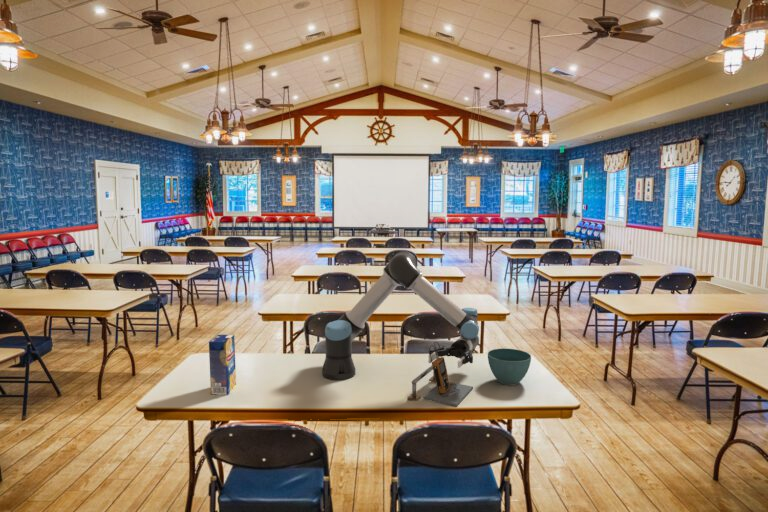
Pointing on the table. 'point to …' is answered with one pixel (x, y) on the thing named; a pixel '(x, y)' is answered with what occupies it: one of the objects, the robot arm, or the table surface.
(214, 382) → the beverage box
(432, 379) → the bent rod hurdle
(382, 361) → the table surface
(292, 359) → the table surface
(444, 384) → the multimeter
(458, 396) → the mat
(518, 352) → the teal bowl
